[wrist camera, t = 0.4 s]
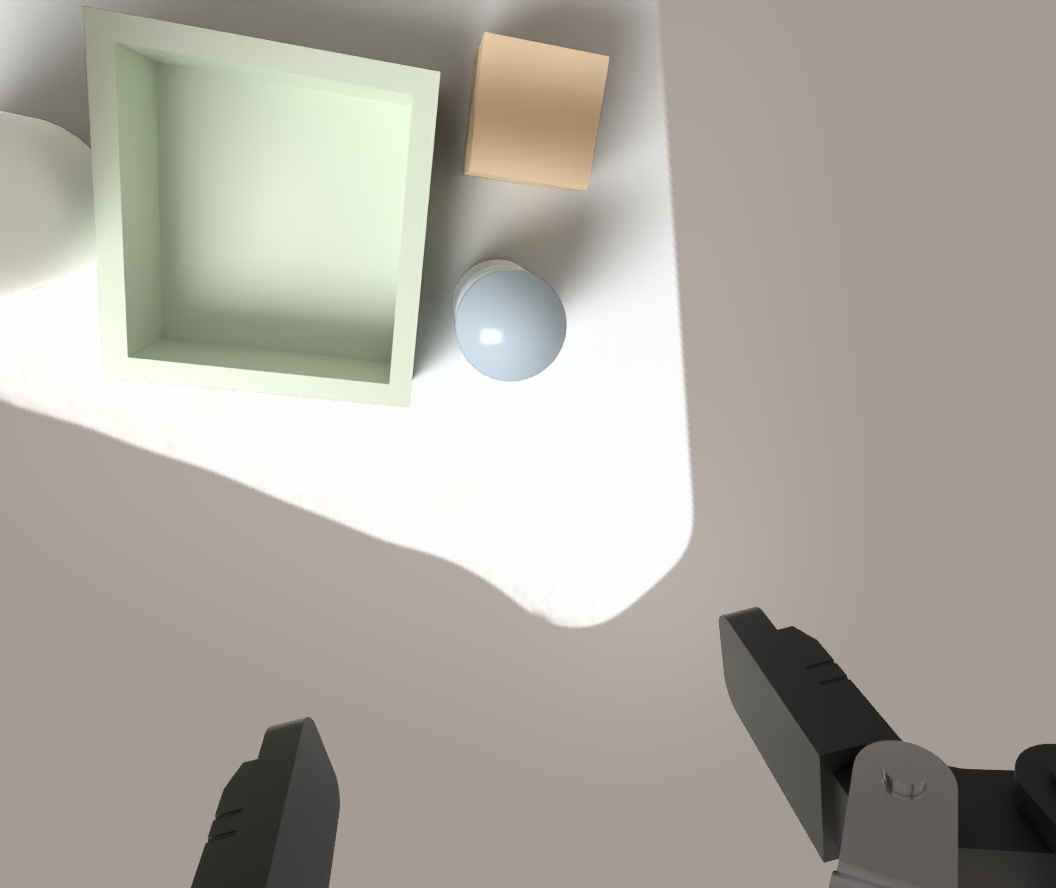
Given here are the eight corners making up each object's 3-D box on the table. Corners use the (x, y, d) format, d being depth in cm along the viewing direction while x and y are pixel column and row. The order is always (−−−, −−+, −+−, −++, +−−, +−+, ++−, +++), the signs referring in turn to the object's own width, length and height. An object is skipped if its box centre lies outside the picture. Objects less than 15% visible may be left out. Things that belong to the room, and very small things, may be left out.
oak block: (474, 60, 32) (484, 31, 26) (578, 79, 33) (609, 56, 27) (462, 174, 34) (469, 170, 28) (561, 190, 34) (588, 189, 29)
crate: (136, 35, 30) (82, 5, 25) (438, 89, 32) (440, 71, 27) (147, 352, 34) (103, 377, 30) (411, 380, 37) (409, 407, 32)
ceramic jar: (456, 250, 35) (462, 262, 29) (548, 263, 36) (574, 278, 29) (445, 344, 36) (449, 375, 30) (535, 355, 37) (557, 386, 31)
